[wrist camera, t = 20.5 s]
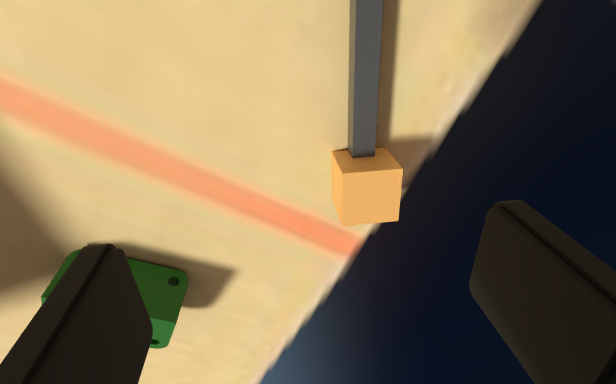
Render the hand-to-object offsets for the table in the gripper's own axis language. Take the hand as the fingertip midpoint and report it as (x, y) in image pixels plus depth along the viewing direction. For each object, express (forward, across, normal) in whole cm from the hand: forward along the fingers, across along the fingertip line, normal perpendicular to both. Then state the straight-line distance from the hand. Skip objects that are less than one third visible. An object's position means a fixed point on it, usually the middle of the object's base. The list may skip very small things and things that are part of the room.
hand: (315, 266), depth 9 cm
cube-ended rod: (+22, -7, 0) cm, 24 cm away
